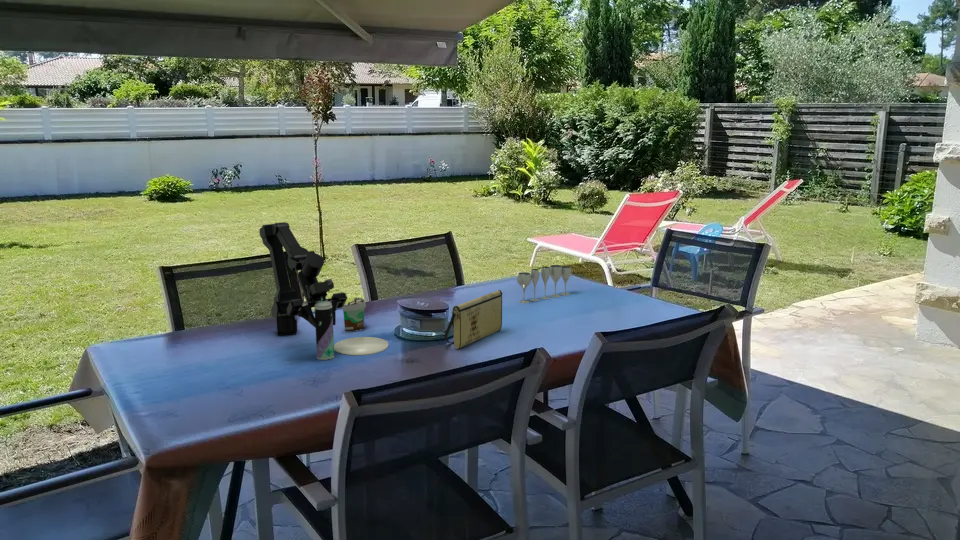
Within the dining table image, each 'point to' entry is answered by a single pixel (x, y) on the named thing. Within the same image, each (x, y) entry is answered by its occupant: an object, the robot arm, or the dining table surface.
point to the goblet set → (544, 278)
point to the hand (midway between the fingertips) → (326, 326)
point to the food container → (354, 314)
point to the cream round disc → (361, 346)
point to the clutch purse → (476, 319)
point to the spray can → (324, 329)
